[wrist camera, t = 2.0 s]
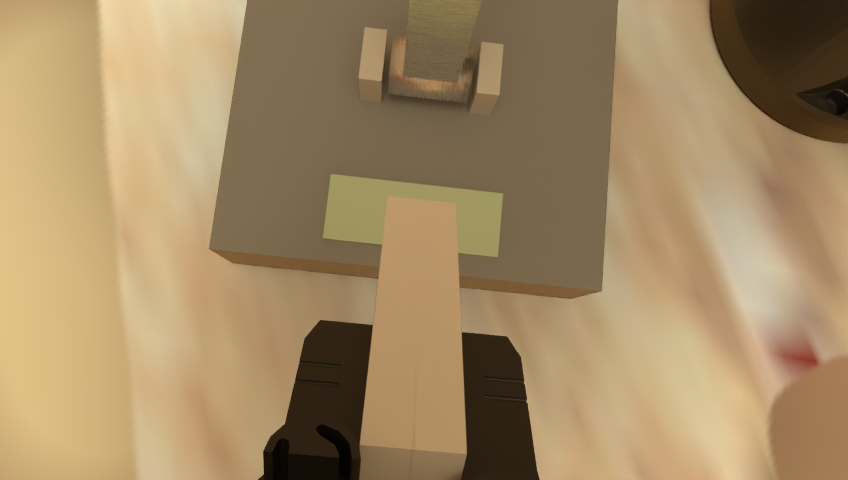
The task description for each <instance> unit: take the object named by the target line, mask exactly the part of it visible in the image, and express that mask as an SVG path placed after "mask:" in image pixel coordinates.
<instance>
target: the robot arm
mask: <svg viewBox="0 0 848 480" xmlns="http://www.w3.org/2000/svg"><path fill="white" fill-rule="evenodd" d="M711 15H712V24H713V30H714V34H715V38H716V42H717V45H718V48H719V51H720V53H721V55H722V58H723V60H724V62H725V64H726V66H727V68H728V69H729V71H730V73H731V75H732V76H733V78H734V79H735V81H736V82H737V83H738V85H739V86H740V87H741V89H742V90H743V91H744V92H745V93H746V94H747V96H748V97H749V98H750V99H751V100H752V101H753V102H754V103H755V104H756V105H758V106H759V107H760V108H761V109H762V110H763V111H765V112H766V113H767V114H769V115H770V116H771V117H773V118H774V119H776V120H777V121H779V122H780V123H782V124H784V125H786V126H788V127H789V128H791V129H794V130H796V131H798V132H800V133H803V134H805V135H808V136H811V137H815V138H818V139H822V140H827V141H833V142H842V143H848V0H711ZM526 399H527V397H526V390H525V384H524V376H523V369H522V362H521V357H520V355H519V354H518V352H517V351H516V349H515V348H514V346H513V345H512V343H511V342H510V340H509V339H508V337H505V336H495V335H485V334H475V333H464V332H461V310H460V287H459V265H458V242H457V219H456V203H449V202H440V201H431V200H421V199H412V198H403V197H394V196H388V198H387V207H386V215H385V224H384V233H383V242H382V251H381V260H380V269H379V278H378V286H377V295H376V304H375V313H374V322H373V325H366V324H355V323H345V322H335V321H324V320H320V321H319V322H318V323H317V325H316V326H315V327H314V328H313V329H312V331H311V332H310V333H309V334H308V335H307V336H306V338H305V340H304V344H303V348H302V353H301V357H300V363H299V366H298V370H297V374H296V379H295V383H294V388H293V392H292V396H291V401H290V405H289V409H288V414H287V418H286V422H285V425H283V426H282V427H281V428H280V429H279V430H277V431H276V432H275V433H274V434H273V435H272V436H271V437H270V439H269V441H268V443H267V445H266V447H265V449H264V451H263V458H264V475H263V476H262V477H260V478H259V479H258V480H539V476H538V472H537V467H536V460H535V453H534V446H533V439H532V432H531V425H530V418H529V411H528V404H527V403H526Z"/></svg>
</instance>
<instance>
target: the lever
mask: <svg viewBox="0 0 848 480" xmlns="http://www.w3.org/2000/svg"><path fill="white" fill-rule="evenodd" d="M481 2H482V0H410V2H409V13H408V24H407V35H406V36H399V35H394V36H393V43H392V51H391V60H390V70H389V81H388V94H392V95H401V96H409V97H417V98H426V99H434V100H442V101H451V102H459V103H467V100H468V97H469V92H470V86H471V80H472V73H473V64H474V45H471V44H469V42H470V39H471V35H472V32H473V29H474V25H475V22H476V19H477V15H478V12H479V8H480V5H481Z"/></svg>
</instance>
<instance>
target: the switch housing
mask: <svg viewBox="0 0 848 480" xmlns="http://www.w3.org/2000/svg"><path fill="white" fill-rule="evenodd" d="M409 2H410V0H247V7H246V13H245V20H244V26H243V33H242V39H241V46H240V52H239V59H238V65H237V72H236V78H235V84H234V91H233V97H232V104H231V110H230V117H229V123H228V130H227V136H226V143H225V149H224V156H223V162H222V169H221V175H220V182H219V188H218V195H217V201H216V208H215V214H214V221H213V227H212V234H211V240H210V247H209V249H210V250H212V251H213V252H215V253H217V254H218V255H220V256H222V257H223V258H225V259H227V260H229V261H230V262H232V263H237V264H247V265H256V266H266V267H275V268H285V269H294V270H303V271H313V272H322V273H332V274H341V275H351V276H360V277H370V278H379V269H380V260H381V251H382V242H383V233H384V224H385V215H386V207H387V198H388V196H394V197H403V198H412V199H421V200H431V201H440V202H449V203H456V219H457V242H458V265H459V287H464V288H474V289H483V290H492V291H502V292H511V293H521V294H530V295H540V296H549V297H559V298H568V299H572V298H576V297H580V296H584V295H588V294H592V293H596V292H599V291H602V278H603V259H604V241H605V223H606V205H607V187H608V169H609V151H610V133H611V115H612V96H613V78H614V60H615V42H616V24H617V6H618V0H482V2H481V5H480V8H479V12H478V15H477V19H476V22H475V25H474V29H473V32H472V35H471V39H470V42H469V44H471V45H474V64H473V73H472V80H471V86H470V92H469V97H468V100H467V103H459V102H451V101H442V100H434V99H426V98H417V97H409V96H401V95H392V94H388V81H389V70H390V60H391V51H392V43H393V36H394V35H399V36H406V35H407V24H408V13H409Z"/></svg>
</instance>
